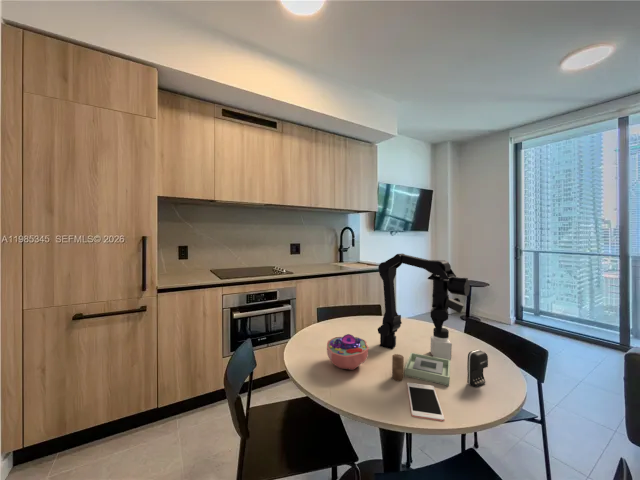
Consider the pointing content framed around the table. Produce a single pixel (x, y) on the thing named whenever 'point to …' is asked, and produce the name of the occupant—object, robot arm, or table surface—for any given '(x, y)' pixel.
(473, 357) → the battery charger
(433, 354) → the medicine bottle
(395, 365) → the peg
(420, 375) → the tray
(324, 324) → the table surface
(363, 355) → the cell model
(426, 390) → the cell phone
